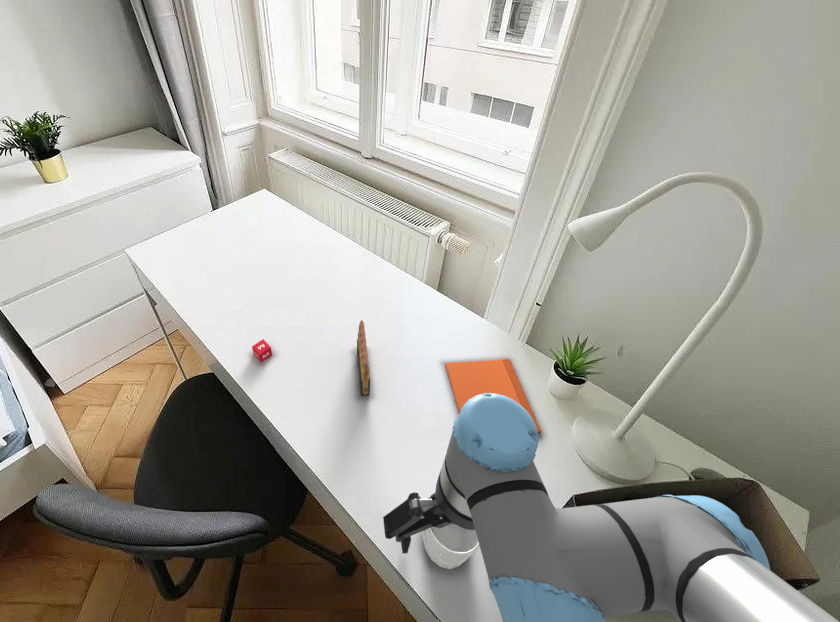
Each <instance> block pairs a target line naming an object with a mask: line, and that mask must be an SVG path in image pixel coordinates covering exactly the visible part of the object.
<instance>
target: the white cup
mask: <svg viewBox="0 0 840 622" xmlns="http://www.w3.org/2000/svg"><path fill="white" fill-rule="evenodd" d="M440 519H443V518H441V517H440ZM422 539H423V545H424V550H425V552H426V554H427V555H428V557H429V559H430V560H431V561H432V562H433V563H435V564H436V566H439V567H440V568H442V569H448V570H452V569H455V568H458V567H460V566H462V564H464V563H465V562H466V561H467V560H468V559H469V558H470V557H471V556H472V555H473V553H474V552H475V551H476V550H478V548H479V547H480V545H479V542H478V538H477V534H476V531H475V530H468V529H464V528H461V527H459V526H457V525H454V524H450V525H447V526H445V527H442V528H437V527H431V528H428V529H426V530H424V531H423V535H422Z"/></svg>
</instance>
